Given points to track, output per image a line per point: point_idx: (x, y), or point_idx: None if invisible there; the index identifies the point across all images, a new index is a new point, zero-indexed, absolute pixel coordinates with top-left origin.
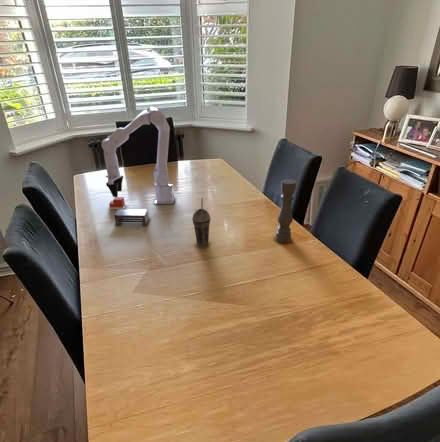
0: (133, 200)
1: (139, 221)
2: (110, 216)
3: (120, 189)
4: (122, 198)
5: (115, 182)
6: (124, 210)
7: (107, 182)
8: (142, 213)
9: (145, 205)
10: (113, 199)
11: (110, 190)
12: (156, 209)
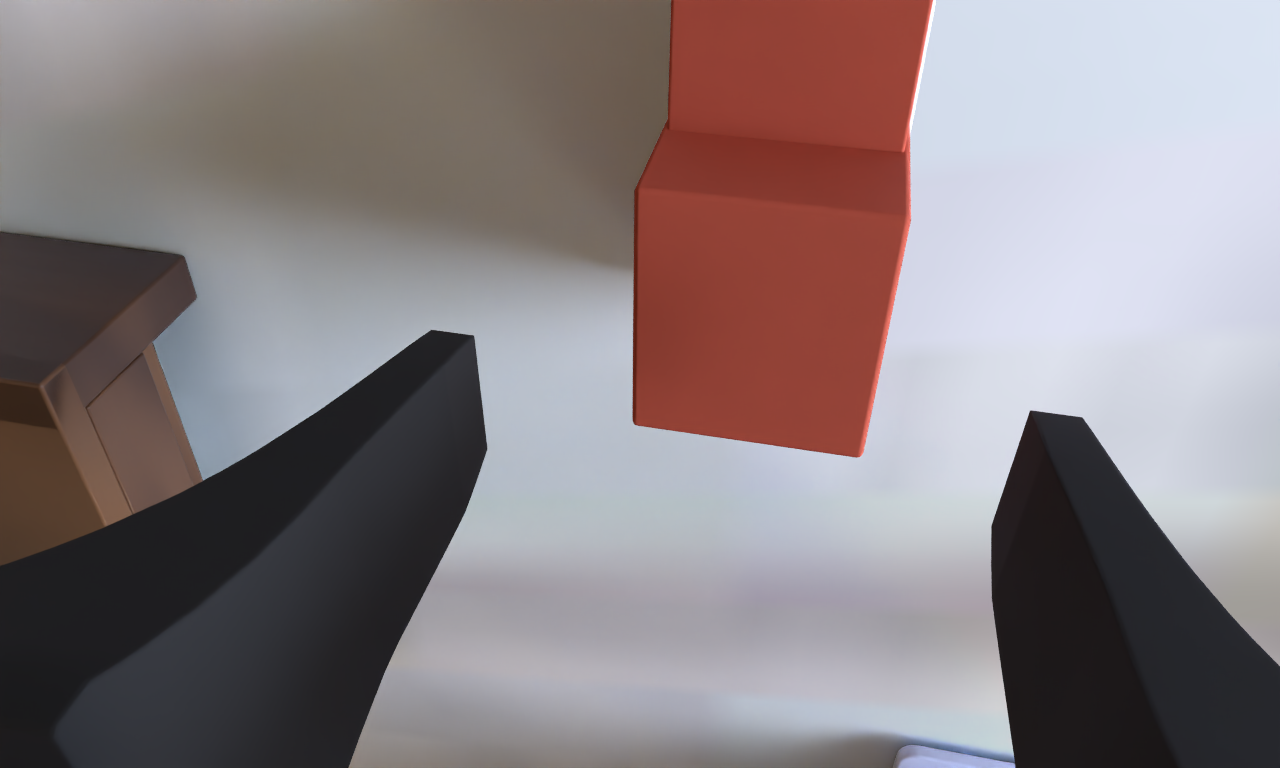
0: (1260, 441)
1: None
2: (255, 30)
3: (1004, 572)
4: (741, 438)
5: (1109, 738)
6: (39, 501)
7: (30, 754)
8: None
9: (862, 625)
10: (664, 201)
11: (231, 478)
12: (663, 730)
